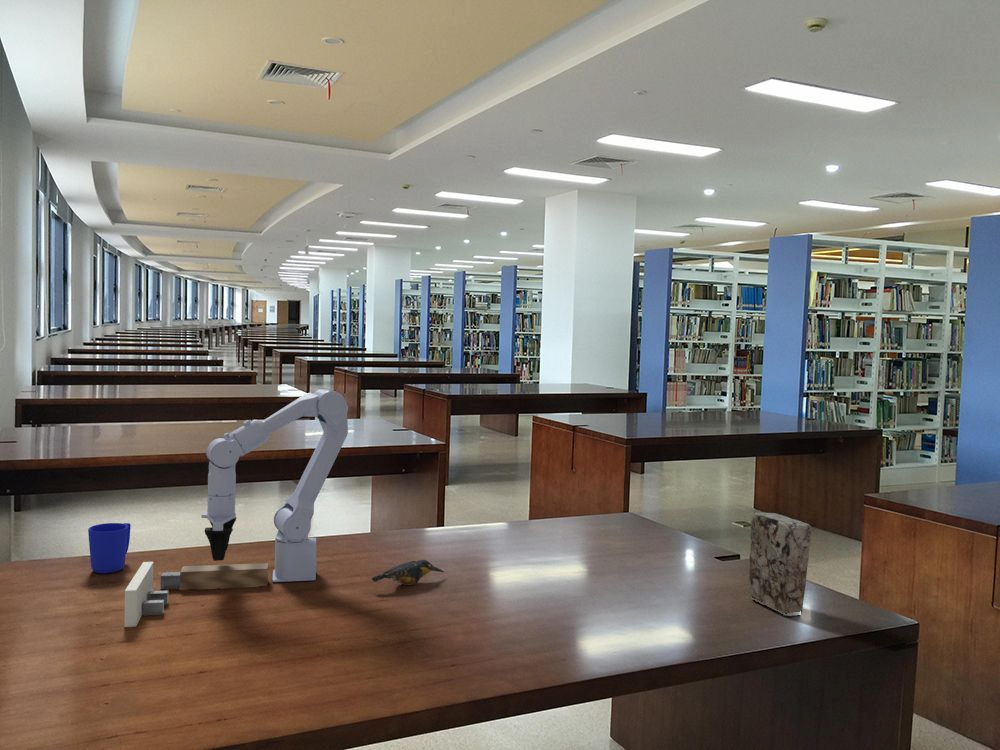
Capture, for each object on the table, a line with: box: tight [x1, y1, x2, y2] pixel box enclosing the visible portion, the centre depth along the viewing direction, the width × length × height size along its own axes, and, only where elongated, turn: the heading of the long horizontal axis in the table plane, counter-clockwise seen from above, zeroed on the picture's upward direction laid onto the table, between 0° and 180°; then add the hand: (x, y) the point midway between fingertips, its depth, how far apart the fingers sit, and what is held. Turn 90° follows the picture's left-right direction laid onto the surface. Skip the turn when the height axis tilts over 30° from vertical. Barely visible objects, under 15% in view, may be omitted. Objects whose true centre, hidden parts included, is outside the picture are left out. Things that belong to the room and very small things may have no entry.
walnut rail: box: [160, 562, 269, 591], centre depth 172 cm, size 22×4×4 cm, turn 104°
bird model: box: [369, 559, 445, 586], centre depth 177 cm, size 20×5×5 cm, turn 131°
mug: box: [87, 522, 132, 574], centre depth 181 cm, size 8×12×10 cm
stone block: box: [748, 511, 812, 614], centre depth 171 cm, size 13×7×20 cm, turn 26°
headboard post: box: [124, 561, 169, 628], centre depth 156 cm, size 6×18×7 cm, turn 14°
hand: (220, 555), depth 172 cm, fingers open, 7 cm apart
